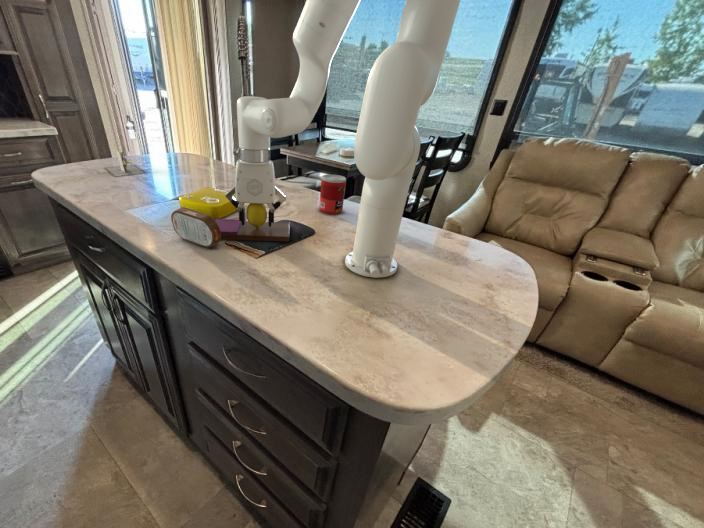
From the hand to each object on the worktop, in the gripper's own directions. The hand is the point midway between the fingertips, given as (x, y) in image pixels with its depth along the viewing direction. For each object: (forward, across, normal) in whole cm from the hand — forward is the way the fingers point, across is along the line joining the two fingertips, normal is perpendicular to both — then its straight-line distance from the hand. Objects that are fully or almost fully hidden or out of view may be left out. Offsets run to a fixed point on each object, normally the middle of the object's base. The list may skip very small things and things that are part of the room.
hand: (256, 223), depth 91 cm
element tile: (+3, -16, +18) cm, 24 cm away
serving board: (+3, -2, 0) cm, 3 cm away
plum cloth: (+1, -9, 0) cm, 9 cm away
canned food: (+3, +23, +21) cm, 31 cm away
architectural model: (+3, -61, +61) cm, 86 cm away
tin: (+3, -15, -8) cm, 17 cm away
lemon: (+2, 0, 0) cm, 2 cm away
